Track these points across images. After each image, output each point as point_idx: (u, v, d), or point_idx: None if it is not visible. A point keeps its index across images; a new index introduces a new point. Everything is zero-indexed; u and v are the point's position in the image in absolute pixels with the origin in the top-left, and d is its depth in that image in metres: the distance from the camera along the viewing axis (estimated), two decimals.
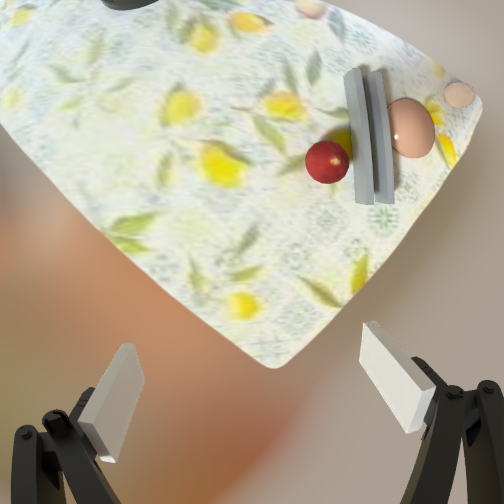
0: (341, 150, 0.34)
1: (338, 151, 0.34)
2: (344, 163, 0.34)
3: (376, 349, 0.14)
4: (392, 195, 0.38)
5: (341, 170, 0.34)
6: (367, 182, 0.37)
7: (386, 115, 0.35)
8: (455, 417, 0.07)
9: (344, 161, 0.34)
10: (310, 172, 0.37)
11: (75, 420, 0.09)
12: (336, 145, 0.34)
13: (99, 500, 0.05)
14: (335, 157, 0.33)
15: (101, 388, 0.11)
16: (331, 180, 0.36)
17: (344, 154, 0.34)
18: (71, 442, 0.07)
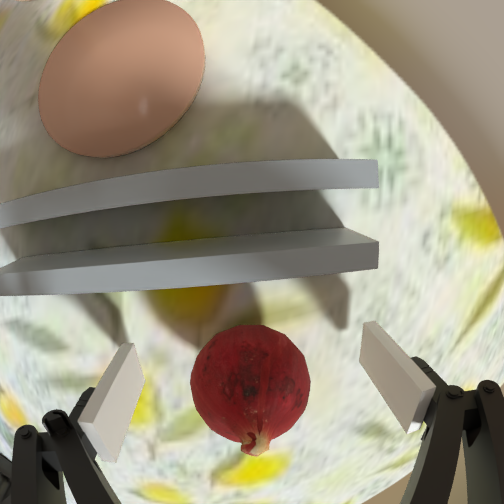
0: (218, 400, 0.11)
1: (224, 419, 0.10)
2: (260, 406, 0.10)
3: (376, 349, 0.14)
4: (352, 167, 0.11)
5: (284, 407, 0.10)
6: (309, 270, 0.12)
7: (69, 193, 0.10)
8: (455, 417, 0.07)
9: (254, 403, 0.10)
10: None
11: (75, 420, 0.09)
12: (203, 402, 0.11)
13: (99, 500, 0.05)
14: (249, 451, 0.09)
15: (101, 388, 0.11)
16: (306, 400, 0.12)
17: (230, 392, 0.11)
18: (71, 442, 0.07)
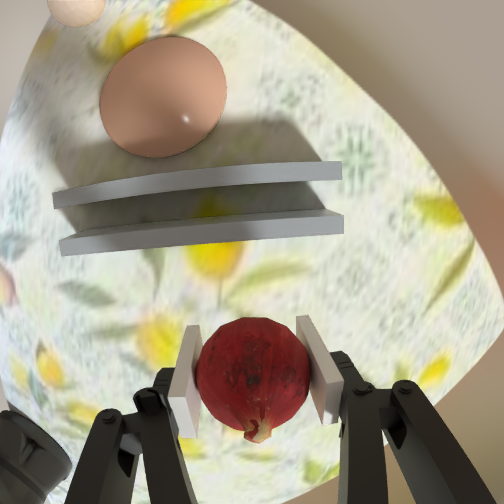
0: (222, 388, 0.11)
1: (228, 406, 0.11)
2: (263, 394, 0.11)
3: (303, 342, 0.15)
4: (324, 166, 0.18)
5: (286, 395, 0.11)
6: (296, 233, 0.18)
7: (137, 181, 0.17)
8: (369, 412, 0.09)
9: (256, 391, 0.11)
10: None
11: None
12: (208, 390, 0.12)
13: (172, 483, 0.06)
14: (252, 438, 0.10)
15: (182, 365, 0.13)
16: (307, 390, 0.13)
17: (234, 381, 0.11)
18: (159, 421, 0.09)
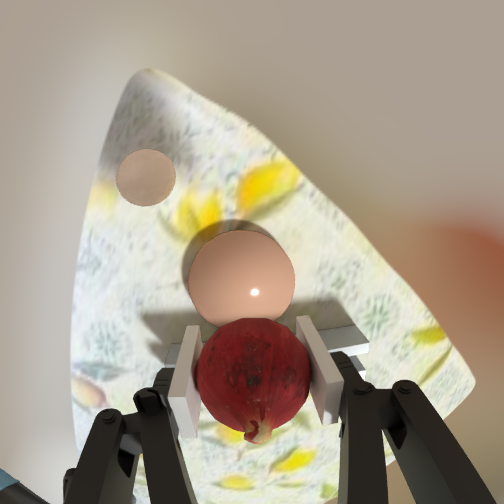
0: (222, 389, 0.11)
1: (228, 407, 0.11)
2: (263, 395, 0.11)
3: (303, 342, 0.15)
4: (358, 347, 0.27)
5: (286, 396, 0.11)
6: None
7: None
8: (369, 413, 0.09)
9: (257, 391, 0.11)
10: None
11: None
12: (208, 391, 0.12)
13: (172, 483, 0.06)
14: (252, 439, 0.10)
15: (182, 365, 0.13)
16: (307, 391, 0.12)
17: (234, 382, 0.11)
18: (159, 421, 0.09)
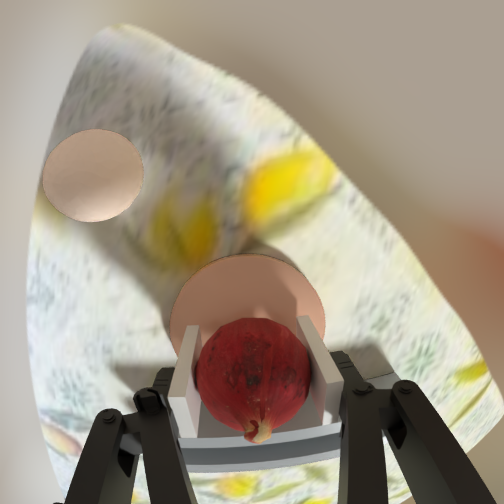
0: (222, 389, 0.11)
1: (227, 407, 0.11)
2: (263, 395, 0.11)
3: (303, 342, 0.15)
4: None
5: (286, 396, 0.11)
6: None
7: None
8: (369, 412, 0.09)
9: (256, 391, 0.11)
10: None
11: None
12: (208, 391, 0.12)
13: (172, 483, 0.06)
14: (252, 439, 0.10)
15: (182, 365, 0.13)
16: (307, 390, 0.12)
17: (234, 381, 0.11)
18: (159, 421, 0.09)
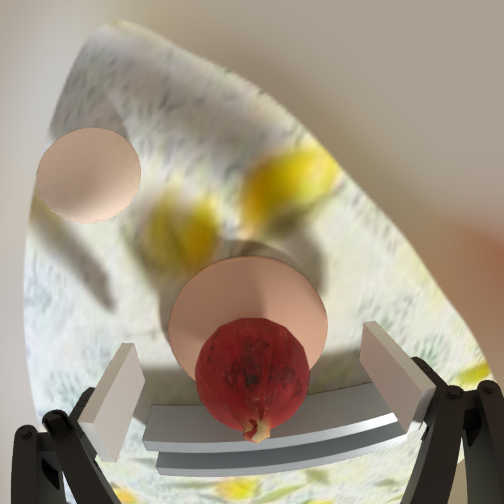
0: (221, 388, 0.11)
1: (226, 406, 0.11)
2: (262, 394, 0.11)
3: (376, 349, 0.14)
4: None
5: (284, 395, 0.11)
6: (372, 451, 0.18)
7: (245, 443, 0.16)
8: (455, 417, 0.07)
9: (255, 390, 0.11)
10: None
11: (75, 420, 0.09)
12: (207, 391, 0.12)
13: (99, 500, 0.05)
14: (250, 438, 0.10)
15: (101, 388, 0.11)
16: (306, 390, 0.13)
17: (233, 381, 0.11)
18: (71, 442, 0.07)
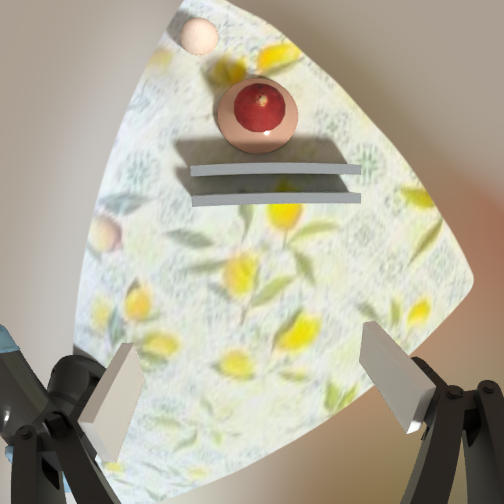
0: (247, 91, 0.27)
1: (249, 96, 0.27)
2: (263, 89, 0.27)
3: (376, 349, 0.14)
4: (351, 167, 0.33)
5: (273, 94, 0.27)
6: (336, 201, 0.33)
7: (252, 165, 0.32)
8: (455, 417, 0.07)
9: (261, 89, 0.27)
10: (272, 128, 0.30)
11: (75, 420, 0.09)
12: (240, 96, 0.28)
13: (99, 500, 0.05)
14: (258, 100, 0.26)
15: (101, 388, 0.11)
16: (283, 105, 0.28)
17: (252, 88, 0.27)
18: (71, 442, 0.07)
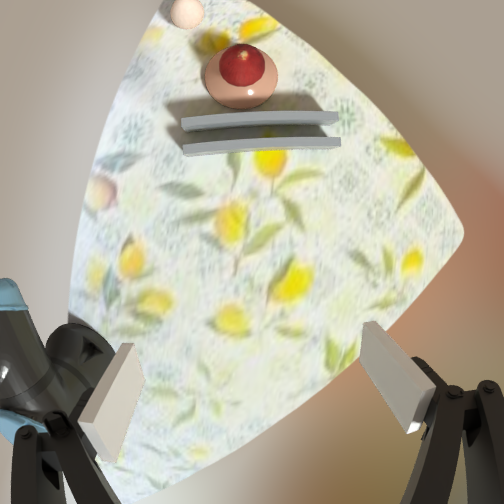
0: (230, 50, 0.28)
1: (232, 53, 0.28)
2: (244, 47, 0.28)
3: (376, 349, 0.14)
4: (329, 113, 0.34)
5: (252, 50, 0.28)
6: (317, 144, 0.35)
7: (238, 114, 0.33)
8: (455, 417, 0.07)
9: (242, 47, 0.28)
10: (254, 81, 0.31)
11: (74, 420, 0.09)
12: (224, 55, 0.29)
13: (99, 500, 0.05)
14: (240, 54, 0.27)
15: (101, 388, 0.11)
16: (262, 60, 0.30)
17: (234, 47, 0.28)
18: (71, 442, 0.07)
